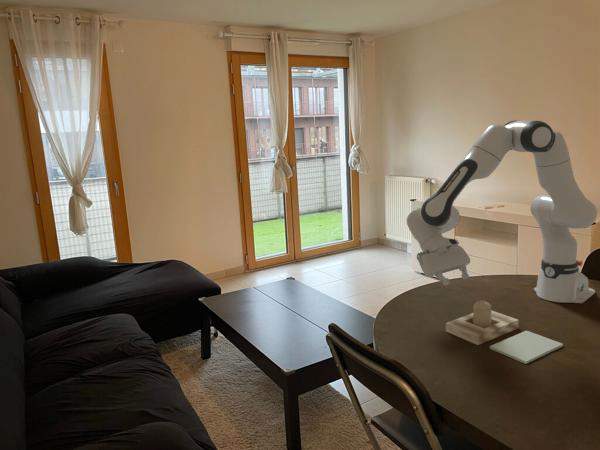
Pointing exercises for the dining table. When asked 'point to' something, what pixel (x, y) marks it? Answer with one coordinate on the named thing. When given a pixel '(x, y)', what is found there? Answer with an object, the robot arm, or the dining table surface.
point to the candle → (482, 314)
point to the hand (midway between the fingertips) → (457, 281)
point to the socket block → (480, 335)
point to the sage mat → (526, 346)
